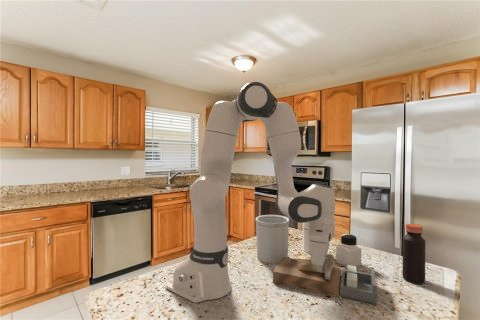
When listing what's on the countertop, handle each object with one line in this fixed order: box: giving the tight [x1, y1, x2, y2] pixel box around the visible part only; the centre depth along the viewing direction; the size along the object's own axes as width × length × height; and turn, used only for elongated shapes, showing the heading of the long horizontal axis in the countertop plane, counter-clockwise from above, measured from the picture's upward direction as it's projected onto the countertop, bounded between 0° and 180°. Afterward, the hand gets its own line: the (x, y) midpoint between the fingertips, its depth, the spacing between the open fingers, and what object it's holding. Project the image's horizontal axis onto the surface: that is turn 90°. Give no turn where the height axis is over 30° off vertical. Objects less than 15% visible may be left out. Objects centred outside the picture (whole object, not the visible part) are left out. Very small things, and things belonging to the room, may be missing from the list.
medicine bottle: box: [335, 233, 362, 268], centre depth 105 cm, size 7×7×12 cm
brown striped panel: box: [272, 257, 342, 298], centre depth 90 cm, size 22×14×4 cm, turn 65°
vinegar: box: [402, 223, 427, 285], centre depth 91 cm, size 7×7×20 cm
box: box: [339, 266, 378, 306], centre depth 83 cm, size 10×14×6 cm
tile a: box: [347, 272, 357, 289], centre depth 81 cm, size 5×5×3 cm
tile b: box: [346, 265, 357, 274], centre depth 87 cm, size 5×5×3 cm
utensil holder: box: [255, 214, 290, 265], centre depth 110 cm, size 15×15×18 cm
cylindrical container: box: [302, 222, 310, 254], centre depth 119 cm, size 7×7×25 cm
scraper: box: [296, 253, 334, 280], centre depth 89 cm, size 12×12×4 cm
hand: (320, 268), depth 88 cm, fingers closed on scraper, 3 cm apart
